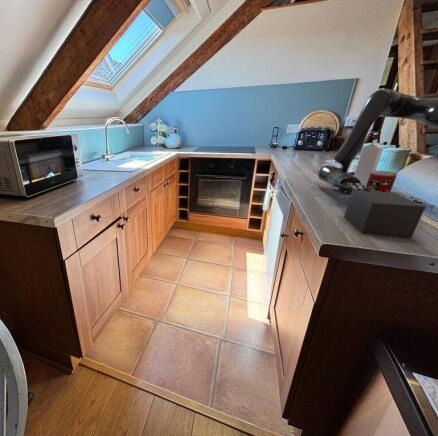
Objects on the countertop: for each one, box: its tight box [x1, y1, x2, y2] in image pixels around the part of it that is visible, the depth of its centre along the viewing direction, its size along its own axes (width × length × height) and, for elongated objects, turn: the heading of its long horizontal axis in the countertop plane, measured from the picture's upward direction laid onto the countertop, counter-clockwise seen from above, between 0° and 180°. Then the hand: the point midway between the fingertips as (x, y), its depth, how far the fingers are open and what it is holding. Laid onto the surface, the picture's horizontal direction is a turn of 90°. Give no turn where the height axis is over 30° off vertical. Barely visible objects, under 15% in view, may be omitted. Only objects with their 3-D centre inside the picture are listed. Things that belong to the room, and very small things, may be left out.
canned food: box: [366, 170, 398, 192], centre depth 100 cm, size 8×8×11 cm
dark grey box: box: [343, 190, 426, 239], centre depth 74 cm, size 14×12×10 cm
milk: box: [353, 139, 385, 187], centre depth 113 cm, size 6×6×22 cm
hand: (363, 195), depth 84 cm, fingers closed
